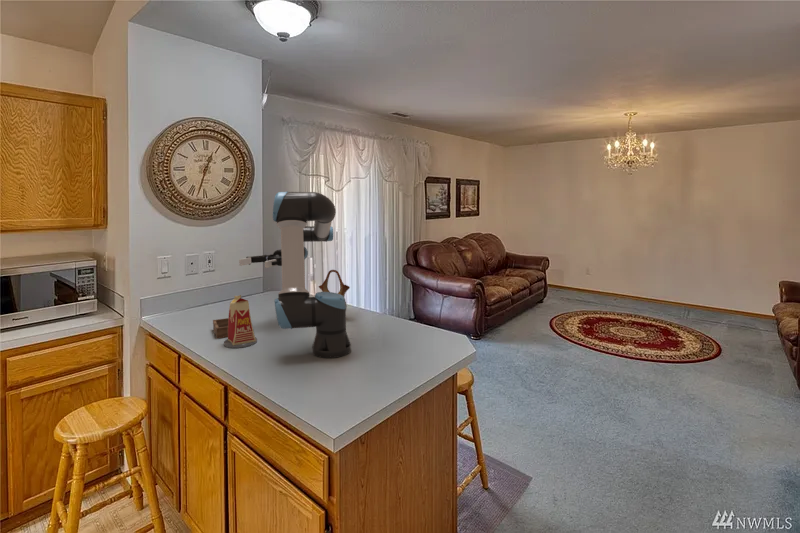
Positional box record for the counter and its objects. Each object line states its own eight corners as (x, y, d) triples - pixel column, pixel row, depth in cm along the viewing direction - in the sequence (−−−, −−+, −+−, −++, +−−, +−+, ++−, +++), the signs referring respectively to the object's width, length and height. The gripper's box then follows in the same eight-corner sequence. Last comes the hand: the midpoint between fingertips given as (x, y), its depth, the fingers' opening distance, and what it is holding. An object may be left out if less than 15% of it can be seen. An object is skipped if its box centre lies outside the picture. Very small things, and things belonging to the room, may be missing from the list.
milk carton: (256, 341, 174) (253, 294, 171) (233, 345, 169) (230, 297, 165) (249, 335, 181) (246, 290, 178) (226, 339, 176) (223, 293, 172)
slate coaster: (259, 344, 172) (259, 343, 172) (226, 350, 166) (226, 348, 166) (253, 335, 183) (253, 333, 183) (221, 340, 177) (221, 338, 177)
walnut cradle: (251, 333, 186) (250, 323, 185) (217, 338, 179) (216, 328, 179) (245, 325, 198) (245, 315, 197) (213, 329, 191) (212, 320, 191)
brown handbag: (353, 317, 212) (352, 268, 207) (347, 322, 203) (345, 271, 199) (323, 314, 216) (321, 267, 211) (316, 320, 207) (314, 270, 203)
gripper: (306, 266, 194) (277, 274, 174) (262, 263, 203) (230, 270, 183) (305, 250, 193) (276, 256, 173) (261, 247, 202) (229, 253, 182)
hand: (252, 263), depth 178 cm, fingers open, 13 cm apart
